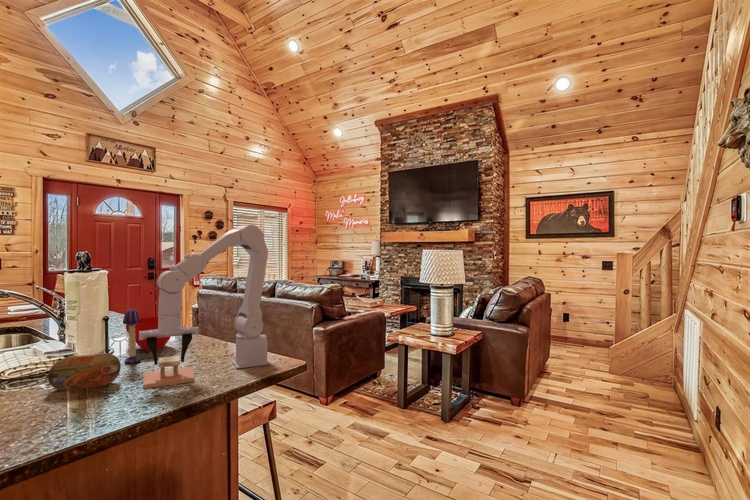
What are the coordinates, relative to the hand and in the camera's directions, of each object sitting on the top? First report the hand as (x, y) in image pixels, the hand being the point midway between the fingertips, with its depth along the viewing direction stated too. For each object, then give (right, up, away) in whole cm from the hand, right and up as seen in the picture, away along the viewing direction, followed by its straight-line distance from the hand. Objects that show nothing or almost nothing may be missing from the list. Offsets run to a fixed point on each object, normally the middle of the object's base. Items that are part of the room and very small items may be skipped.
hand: (169, 362), depth 105 cm
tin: (-18, -5, -7) cm, 20 cm away
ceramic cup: (-24, -4, +29) cm, 38 cm away
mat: (0, -5, 0) cm, 5 cm away
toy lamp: (-19, -4, +12) cm, 23 cm away
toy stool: (0, -4, 0) cm, 4 cm away
